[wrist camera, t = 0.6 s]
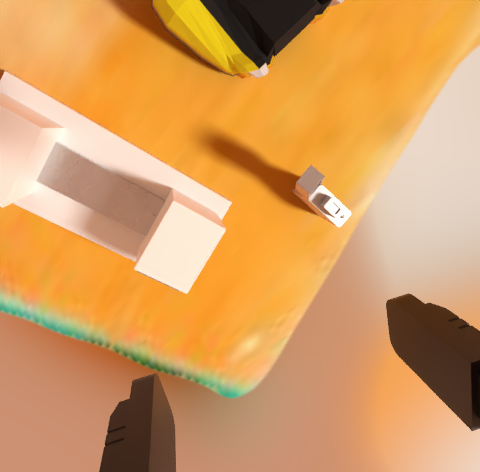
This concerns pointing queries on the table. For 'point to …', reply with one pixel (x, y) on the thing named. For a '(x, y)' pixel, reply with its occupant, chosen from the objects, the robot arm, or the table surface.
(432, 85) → the table surface
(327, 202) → the lighter
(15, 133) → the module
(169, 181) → the rail plate
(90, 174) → the rail
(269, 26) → the gaming controller
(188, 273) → the block
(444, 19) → the table surface
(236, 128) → the table surface
